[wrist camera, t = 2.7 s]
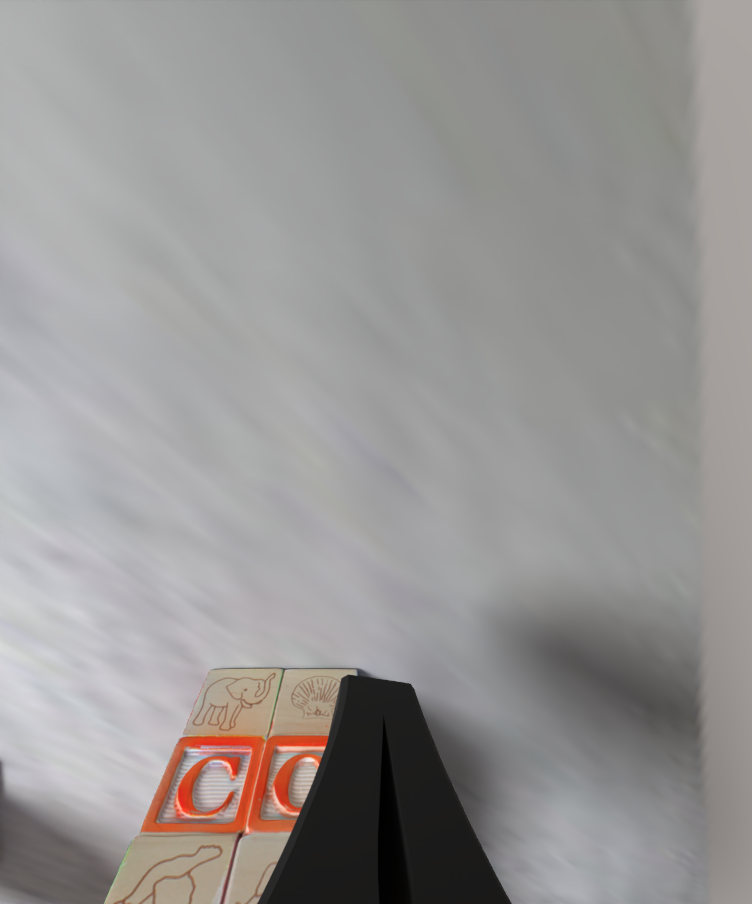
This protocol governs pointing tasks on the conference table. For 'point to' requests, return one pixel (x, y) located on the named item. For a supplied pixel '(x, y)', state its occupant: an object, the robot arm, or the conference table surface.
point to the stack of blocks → (231, 788)
